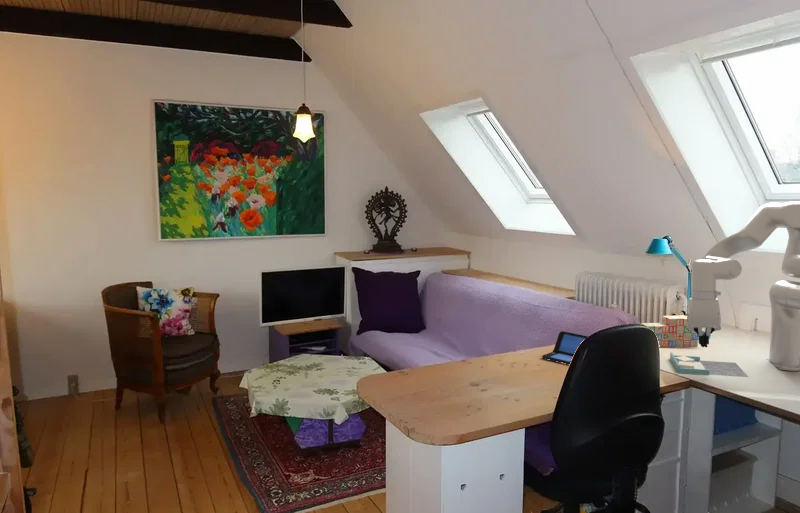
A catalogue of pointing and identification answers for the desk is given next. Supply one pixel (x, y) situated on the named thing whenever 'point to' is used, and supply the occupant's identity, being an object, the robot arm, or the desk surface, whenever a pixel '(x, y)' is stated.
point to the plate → (723, 368)
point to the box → (687, 370)
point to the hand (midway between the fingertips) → (703, 346)
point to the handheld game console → (565, 347)
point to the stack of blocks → (674, 332)
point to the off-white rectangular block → (686, 365)
